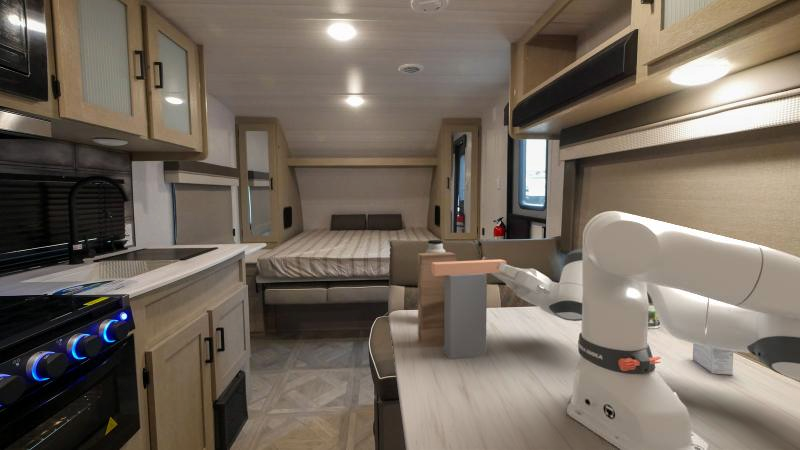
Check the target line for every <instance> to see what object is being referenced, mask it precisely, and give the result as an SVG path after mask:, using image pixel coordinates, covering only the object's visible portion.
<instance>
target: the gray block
mask: <svg viewBox="0 0 800 450" xmlns="http://www.w3.org/2000/svg"><path fill="white" fill-rule="evenodd" d="M487 276H488V273H482V274H462V275H444V345H443V348H444V349H443V352H444V353H445V355H447V357H448V358H449V359H450V360H455V359H464V358H475V357H485V356H487V305H488V304H487V296H488V295H487V293H488V292H487V290H488V288H487V287H488V285H487V284H488V281H487V280H488V277H487Z"/></svg>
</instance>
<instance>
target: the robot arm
mask: <svg viewBox="0 0 800 450" xmlns="http://www.w3.org/2000/svg"><path fill="white" fill-rule="evenodd" d="M481 260H491V259H489V258H488V257H486V256H483V257H482V258H481ZM562 261H563V262H562V269H561V270H562V271H561V274H560V278H559V282H556V281H552V279H550V278H549V277H548V276H546V275H545V274H543V273H541V272H540V271H539V270H537V269H535V268H532V267H531V268H520V267H515V266H512V265H509V264H507V263H506V265H505V264H503V263H499V264H498V266H497V269H499V270H501V271H503V272H501V273H490V274H491V275H493V276H494V277H496V278H497V279H498V280H500V281H502V283H505V287H507V288H509V289H510V290H511V291H512V292H514V294H515V295H516V296H517V297H518V298H520V299H521V300H524V301H526V302H527V303H529V304H531V305H534V306H537V307H539V309H540V310H542V311H543V312H546V313H547V314H549V315H551V316H554V317H555V318H558V319H561V320H563V321H571V322H572V321H573V322H579V321H581V332H580V333H579V334H578V341H577V346H578V347H577V348H578V354H579V360H578V364H577V367H576V369H575V372H574V378H573V386H572V392H571V393H572V394H571V397H570V403H569V404H568V405H567V409H566V414H567V415H568V416H569V417H571V418H572V419H574V420H575V421H576V422H579V423H580V424H581V425H583V426H584V427H586V428H587V429H589V430H590V431H591V432H593V433H595V434H596V435H598V436H600V437H601V438H603V439H604V440H605V441H607V442H608V443H610V444H612V445H613V446H614V447H616V448H618V449H619V450H710V448H709V447H710V445H709V443H708V442H706V441H705V440H704V439H703V438H701V437H700V436H699V435H698V434H697V433H695V432H694V431H692V423H691V417H690V413H689V410H688V408H687V406H686V405H685V404H684V402H683V401H681V399H680V396H679V395H678V394H677V393H676V392H675V391H673V390H672V388H671V387H670V386H669V385H668V384H667V382H666V381H665V380H664V379H663V377H662V376H661V375H660V374H659V372H658V371H657V370H656V364H661V361H659V360H661V359H662V357H661V356H654V357H653V353H652V350H651V347H650V345H649V344H648V335H649V334H648V330H649V329H648V309H649V302H648V297H647V292H648V293H649V295H650V297H651V300H652V302H653V306H654V309H655V312H656V315H657V317H658V320H659V322H660V326H662V328H663V329H664V330H665V332H667V333H669V334H670V335H671V336H672V337H673V338H675V339H677V340H679V341H683V342H685V343H690V344H697V345H702V346H704V344H705V346H707V347H712V348H717V349H723V350H730V351H733V352H736V353H737V352H740V353H748V354H749V353H750V354H752V355H753V356H755V357H756V358H758V360H759V362H760V363H762V364H763V365H764V366H766V367H767V368H769V369H770V370H771V371H773V372H775V373H777V374H779V375H781V376H784V377H787V378H790V379H794V380H798V381H800V257H799V256H796V255H793V254H790V253H787V252H784V251H781V250H778V249H774V248H771V247H768V246H765V245H759V244H755V243H752V242H748V241H744V240H738V239H734V238H731V237H727V236H722V235H718V234H714V233H710V232H706V231H702V230H697V229H692V228H688V227H685V226H680V225H676V224H672V223H668V222H664V221H660V220H655V219H651V218H647V217H643V216H639V215H635V214H630V213H628V212H623V211H618V210H610V211H609V210H608V211H603V212H601V213H598V214H596V215H595V216H593V217H592V218H590V220H589V221H588V222H587V223H586V225H585V226H584V229H583V231H582V248H579V249H575V250H572V251H571V252H568V253H567V254H566V255H564V257H563V260H562ZM706 328H707V330H706ZM705 334H706V343H705Z"/></svg>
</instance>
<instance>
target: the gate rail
mask: <svg viewBox="0 0 800 450" xmlns="http://www.w3.org/2000/svg"><path fill="white" fill-rule="evenodd" d="M499 263H503V264H505V265H506V264H507V260H504V259H490V260H482V259H478V260H477V259H475V260H457V261H453V262H432V274H433V275H434V276H443V275H462V274H482V273H486V274H491V273H501V272H503V271H501V270H499V269H497V266H498V264H499Z"/></svg>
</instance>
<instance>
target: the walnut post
mask: <svg viewBox="0 0 800 450" xmlns="http://www.w3.org/2000/svg"><path fill="white" fill-rule="evenodd" d="M453 261H458V260H457V254H456V253H454V252H450V251H449V252H447V251H445V252H443V253H426V252H422V253H417V316H418V317H417V339H418V340H417V341H418V342H419V344H420V346H421V347H422V348H431V347H439V346H440V347H441V346H444V275H443V276H434V275H433V274H432V262H453Z"/></svg>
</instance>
